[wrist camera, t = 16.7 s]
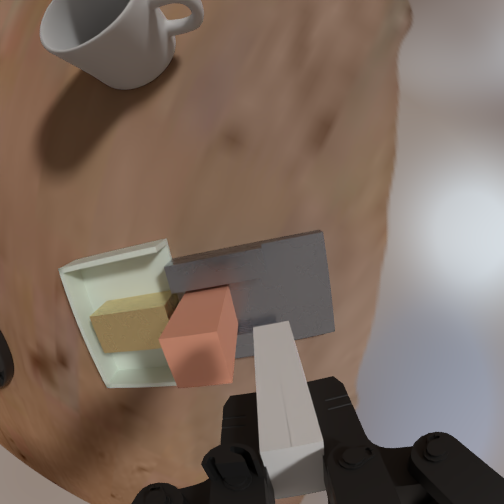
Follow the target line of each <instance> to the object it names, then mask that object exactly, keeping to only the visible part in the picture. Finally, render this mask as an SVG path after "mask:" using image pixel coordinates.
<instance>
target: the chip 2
mask: <svg viewBox="0 0 504 504" xmlns="http://www.w3.org/2000/svg"><path fill="white" fill-rule="evenodd" d="M178 304H179V299H178V296H177V293H173V294H171V290H168V291H162V292H157V293H151V294H145V295H139V296H138V297H137V298H136V299H135V300H134V301H133V302H132V304H131V305H130V306H129V307H128V308H127V309H126V310H125V311H124V314H125V317H126V319H127V322H128V325H129V327H130V330H131V333H132V335H133V338H134V340H135V343H136V345H137V348H138V350H149V349H159V348H162V347H161V345H160V342H159V338H160V336H161V334H162V332H163V330H164V329H165V327H166V325H167V323H168V322H169V320H170V318H171V316H172V315H173V313H174V311H175V309H176V308H177V306H178Z"/></svg>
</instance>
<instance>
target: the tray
mask: <svg viewBox="0 0 504 504" xmlns="http://www.w3.org/2000/svg"><path fill="white" fill-rule="evenodd" d="M171 259H172V258H171V254H170V250H169V246H168V242H167V238H166V239H162V240H157V241H153V242H149V243H144V244H140V245H135V246H131V247H127V248H123V249H118V250H114V251H110V252H106V253H102V254H98V255H93V256H89V257H85V258H81V259H77V260H74V261H72V262H70V263H69V264H67V265H65V266H63V267H61V268H59V269H58V270H59V273H60V277H61V280H62V283H63V286H64V289H65V292H66V294H67V297H68V300H69V303H70V306H71V308H72V311H73V314H74V316H75V319H76V321H77V324H78V326H79V329H80V331H81V333H82V336H83V338H84V341H85V343H86V345H87V347H88V350H89V352H90V354H91V356H92V358H93V360H94V363H95V365H96V367H97V369H98V371H99V373H100V375H101V377H102V379H103V381H104V383H105V385H106V387H107V388H137V387H160V386H176V382H175V380H174V377H173V375H172V373H171V370H170V368H169V365H168V363H167V360H166V358H165V355H164V352H163V350H162V348H159V349H149V350H139V351H127V352H114V353H104V351H103V349H102V347H101V344H100V342H99V340H98V337H97V335H96V332H95V330H94V327H93V325H92V322H91V320H90V316H91V315H92V314H93V313H94V312H95V311H96V310H97V309H98V308H99V307H100V306H102V305H103V304H104V303H105V302H106V301H109V300H115V299H121V298H127V297H133V296H139V295H145V294H151V293H157V292H162V291H168V290H170V287H169V283H168V280H167V277H166V273H165V269H164V266H165V265H166V264H167V263H168V262H169V261H170V260H171ZM177 296H178V295H177ZM178 299H179V298H178ZM179 302H180V301H179Z"/></svg>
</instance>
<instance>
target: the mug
mask: <svg viewBox="0 0 504 504" xmlns="http://www.w3.org/2000/svg"><path fill="white" fill-rule="evenodd" d="M172 3H180V4H184V5H186V6H187V7H189V9H190V10H191V12H192V14H191V15H190V16H188V17H186V18H183V19H177V20H167V19H166V17H165V16H164V14H163V13H162V11H161V10H160V8H159V7H160V6H163V5H167V4H172ZM203 18H204V10H203V5H202V2H201V0H53V1H52V2H51V3H50V5H49V6H48V8H47V10H46V12H45V14H44V16H43V19H42V22H41V26H40V40H41V43H42V45H43V46H44V48H45V49H46V50H48V51H49V52H50V53H52V54H54V55H56V56H58V57H59V58H61V59H63V60H65V61H67V62H69V63H71V64H72V65H74V66H76V67H78V68H80V69H81V70H83V71H85V72H87V73H88V74H90V75H92V76H94V77H95V78H97V79H98V80H100V81H101V82H103V83H105V84H106V85H108V86H110V87H112V88H115V89H122V90H128V89H135V88H138V87H141V86H143V85H146V84H147V83H149V82H151V81H152V80H154V79H155V78H156V77H158V76H159V75H160V74H161V73H162V72H163V71H164V70H165V69H166V67H167V66H168V65H169V63H170V61H171V59H172V57H173V55H174V52H175V45H176V41H175V35H179V34H183V33H187V32H190V31H193V30H195V29H197V28H198V27H200V25H201V24H202V22H203Z"/></svg>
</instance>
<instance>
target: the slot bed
mask: <svg viewBox="0 0 504 504" xmlns="http://www.w3.org/2000/svg"><path fill="white" fill-rule="evenodd" d="M164 269H165V273H166V277H167V280H168V283H169V287H170V290H171V294H173V293H177V295H178V298H179V301H181V299H182V297H183V296H184V294H185V292H186V291H191V290H196V289H202V288H208V287H213V286H219V285H224V284H228V285H229V289H230V293H231V297H232V301H233V305H234V309H235V313H236V317H237V321H238V332H237V342H236V352H235V358H242V357H248V356H254V338H253V327H258V326H263V325H269V324H274V323H279V322H284V321H289V324H290V327H291V330H292V334H293V337H294V340H297V339H302V338H307V337H311V336H316V335H321V334H325V333H330V332H334V331H335V326H334V316H333V306H332V297H331V288H330V280H329V272H328V264H327V257H326V250H325V243H324V236H323V232H322V231H321V230H316V231H311V232H306V233H300V234H295V235H290V236H285V237H280V238H275V239H269V240H264V241H259V242H254V243H249V244H244V245H239V246H234V247H229V248H224V249H219V250H214V251H209V252H204V253H199V254H194V255H189V256H184V257H179V258H174V259H171V260H170V261H169V262H168V263H167V264H166V265H165V266H164Z"/></svg>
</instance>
